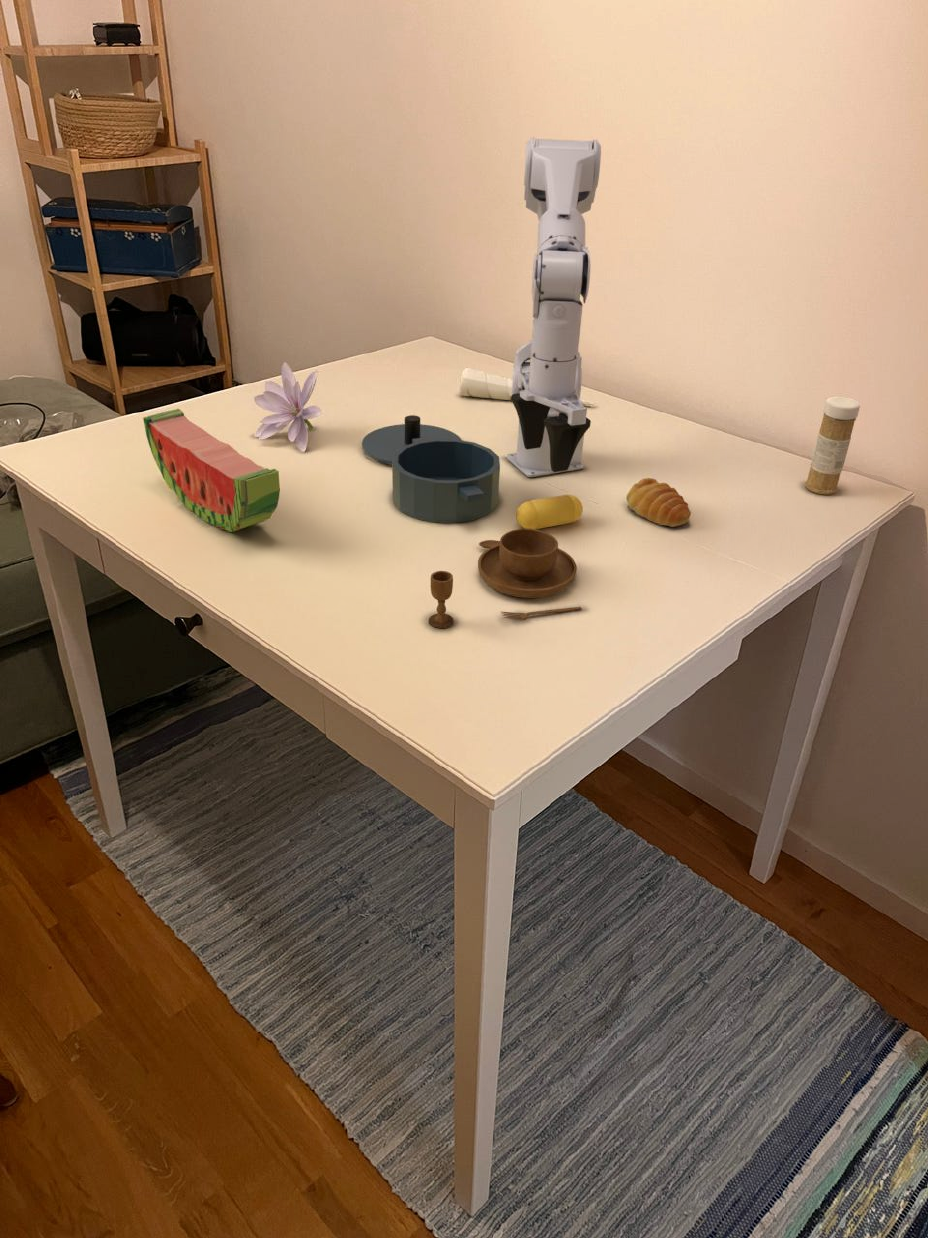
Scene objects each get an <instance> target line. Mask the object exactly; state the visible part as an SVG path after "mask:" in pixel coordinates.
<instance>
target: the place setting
mask: <svg viewBox="0 0 928 1238" xmlns="http://www.w3.org/2000/svg"><path fill="white" fill-rule="evenodd" d="M478 545H479V546H480V547H481V548H484V549H486V550H484V551H483V552H482V553H481V555H480V556H479V558H478V561H477V569H478V573H479V576H480V578H481V579H482V580H483V582H484V583H485V584H486V585H487V586H489V587H490V588H492V589H494V590H495V591H497V592H499V593H502V594H505V595H508V596H511V597H515V598H525V599H538V598H545V597H551V596H553V595H556V594H557V595H558V593H561V592H563V591H565V590H566V589H568V588H569V587H570V586H571V585H572V584H573V582H574V581H575V579H576V577H577V570H578V567H577V562H576V560H575V559H574V558H573V557H572V555H570V554H569V553H568V552H567V551H565V550H562V549H561V548H560V547H559V541H558V540H557V538H556V537H554V536H553V535H552V534H550V533H548V532H547V531H543V530H540V529H525V528H517V529H513V530H510V531H507V532H505V533H504V534H503V535H502V536H501V537H500V539H499V540H494V539H486V540H482V541H480V542H479V543H478ZM453 587H454V576H453V574H452V573H451V572H449V571H447V570H438V571H434V572H432V573H431V575H430V593H431V596H432V598H434V599H435V600H436V601H437V607H436V613H434V614H432V615H431V616H429V618H428V624H429V625H430V626H431V627H433V628H435V629H447V628H450V627H451V626H453V624H454V622H455V620H454V618H453V617H452V615H450V614H448V613H446V612H447V607H446V601H447V600H449V599H450V598H451V597H452V594H453V589H454V588H453ZM582 609H583V608H582V607H581V606H574V607H564V608H555V609H544V610H536V611H530V612H525V613H524V612H509V611H501V612H500V615H501V616H502V617H503V618H504V619H511V620H522V621H523V620H526V619H527V618H528V617H530V616H535V615H544V614H545V615H546V614H555V613H563V612H564V613H565V612H570V611H571V612H572V611H579V610H582Z"/></svg>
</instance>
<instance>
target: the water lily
mask: <svg viewBox="0 0 928 1238" xmlns="http://www.w3.org/2000/svg"><path fill="white" fill-rule="evenodd" d="M280 373H281V382H282V386H281V385H280V384H279V383H278V382H275V381H272V380H266V381H264V384H263V385H264V391H263V394H257V395H255V396H253V398H252V399H253V402H254V403H255V405H257V407H259V408H261V409H262V410H265V411H268V412H270V413H273V414H270V415H267V416H265V417H264V418H262V419H261V420H260V421H259V424H261V425H259V427H258V428H257V429H256V431H255V432H254V438H258V440H259V441H262V440H265V439H268V438H271V437H273V436H275V435H277V434H278V433H280V432H281V431H283V430H284V429H286V427H287V426H289V428H288V430H287V437H288V441H290V442H291V443H293V442H295V445H296V447H297V448H298V450H300V451H301V452H303V453H305V451H306V450H307V447H308V440H309V438H308V437H309V435H308V434H309V433H308V429H309V430H313V429H314V426H313V424H312V423H311V422H310V421H309V420H311V419H312V420H313V419H315V418H317V417H319V416H320V415H321V414H322V413H323V411H322V409H321V408H320V407H319V406H317V405H310V406H307V407H305V406H306V404H307V403H308V401H309V400H310V398H311V396H312V394H313V392H314V390H315V386H316V383H317V378H318V370H314V371H312V372H311V373H309V375H308V376H307V378H306V379H305V381H304V383H303V386H302V389H301V387H300V386H301V385H300V382H299V380H297V381H296V377H295V375H294V372H293V370H292V368H291V367H290V365H289V364H288V363H287V362H283V364H282V366H281V372H280ZM304 407H305V408H304ZM307 427H308V428H307Z"/></svg>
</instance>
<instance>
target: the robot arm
mask: <svg viewBox="0 0 928 1238" xmlns="http://www.w3.org/2000/svg"><path fill="white" fill-rule="evenodd" d="M524 160H525V163H524V177H523V178H524V179H523V186H524V192H523V193H524V195H523V200H524V201H525V208H527V209H528V210H529V211H531V212H532V213H534V214H536V215H537V219H538V225H537V246H536V254H534V257H533V263H532V280H531V297H532V318H533V320H532V330H531V331H532V332H531V339H530V340H529V341H527V342H526V343H524V344H523V345H521V346H520V347H519V348H518V349H517V350H516V352H515V354H514V363H513V370H512V379H513V383H512V396H511V400H510V401H511V402H512V404H513V406H514V408H515V411H516V414H517V417H518V428H517V429H518V431H517V442H516V443H517V445H516V452H514V453H508V454H506V455H505V458H506V460H508V461H509V462H510V463H511V464H512V465H513V466H515V467H516V468H517V469H518V470H519V471H520V472H521V473H523V474H524V475H525V476H526V477H527V478H534V477H541V476H547V475H554V474H559V473H564V472H571V471H577V470H583V469H584V467H585V466H584V464H582V458H583V451H584V441H585V434H586V432H587V431H588V430H589V429H590V427H591V425H592V424H591V423H592V420H590V418H588V417H587V415H588V414H587V413H588V408H587V407H586V406H583V405H582V403H581V401H580V399H581V392H582V380H583V379H582V377H583V376H582V375H583V374H582V372H583V371H582V361H583V359H582V356H581V352H580V351H579V347H580V338H581V337H580V336H581V328H582V327H581V326H582V315H583V308H584V307H583V304H586V301H587V299H588V295H589V289H590V281H591V257H590V256H591V255H590V251H589V247H587V246H586V220H585V218H584V216H583V214H584V213H587V212H589V211H591V210H592V204H594V202H595V197H596V191H597V189H598V185H599V180H600V171H601V161H602V144H601V143H600V142H599V141H598V139H593V140H578V139H577V140H576V139H553V138H551V139H550V138H549V139H548V138H535V137H534V136H531V137H529V139H528V140H527V141H526V145H525V159H524ZM581 297H582V300H583V301H581Z"/></svg>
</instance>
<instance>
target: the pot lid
mask: <svg viewBox="0 0 928 1238" xmlns="http://www.w3.org/2000/svg"><path fill="white" fill-rule="evenodd" d="M424 437H428V438H429V439H430V440H432V439H457V440H462V438H461V437H460V435H458V434H456V433H455V432H454V431H451V430H449V429H447V428H445V427H444V428H443V427H440V426H435V425H430V424H422V423H421V416H418V415H415V414H414V415H413V414H412V415H406V416H405V417H404V423H401V424H400V423H399V424H393V425H387V426H383V427H379V428H377V429H375V430H372V431H371V432H369V433H367V434H366V435H365V436H364V437H363V439H362V441H361V448H362V451H363V452H364V454H366V455H367V456H368V457H370V458H371V459H373V460H376V461H378V462H381V463H384V464H388V465H392V461H393V454H395V453H396V452H397V451H398V450H399V449H400V448H402V447H404V446H407V445H409V444H412V439H416V438H424Z"/></svg>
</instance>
